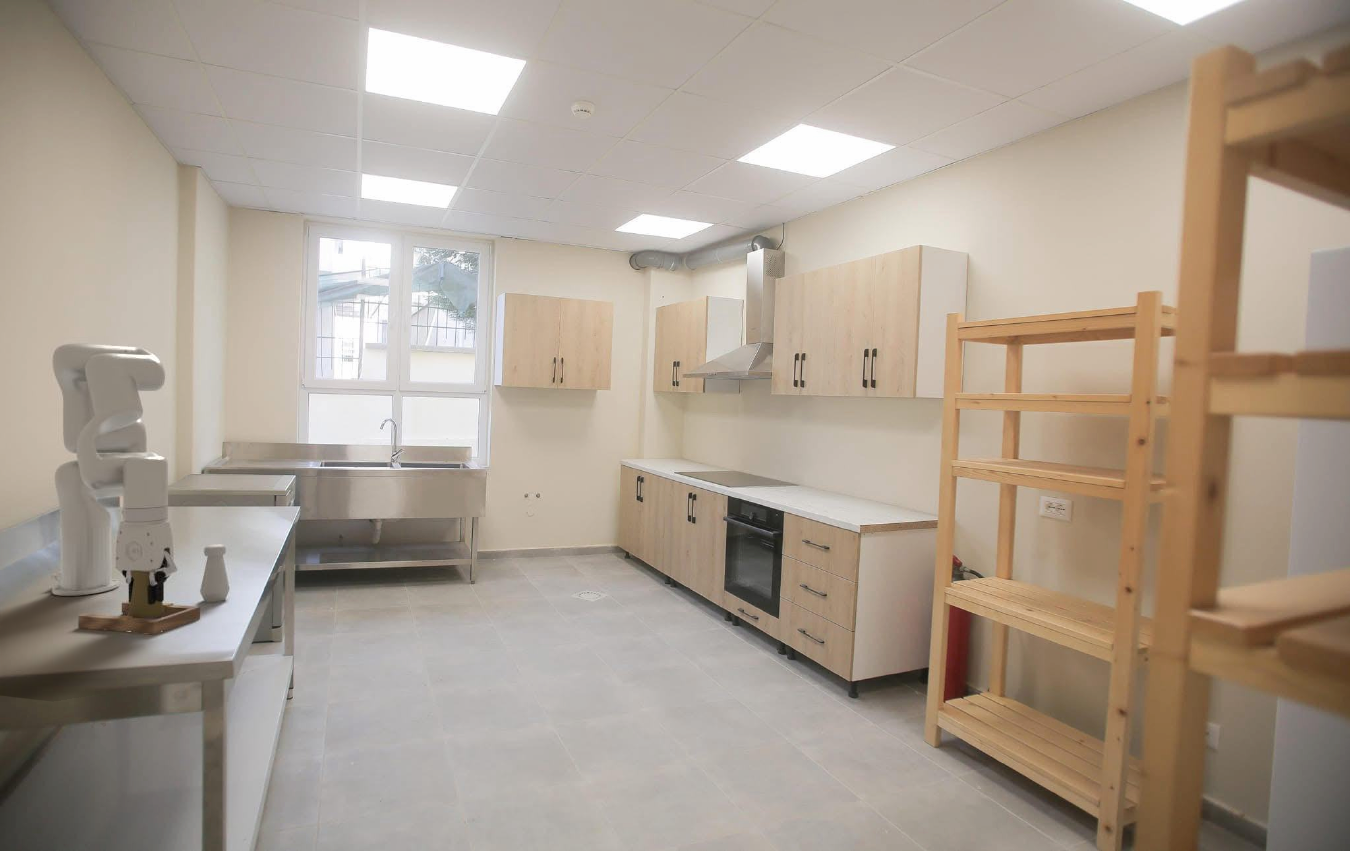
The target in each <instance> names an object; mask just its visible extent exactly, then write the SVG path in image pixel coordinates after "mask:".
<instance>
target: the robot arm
mask: <svg viewBox="0 0 1350 851" xmlns="http://www.w3.org/2000/svg"><path fill="white" fill-rule="evenodd" d="M52 354H53V355H52V369H53V373H54V376H55V379H56V381H57V384H58V386H59V389H60V391H61V394H62V401H63V402H62V403H63V404H62V438H63V444H64V448H65V449H66V451H68V452H69V453H71V454H75V455H76V459H75V460H71V461H67V462H65V463H62V464H60V466H58V467H57V468H56V471H55V472H54V482H55V483H54V484H55V485H54V486H55V488H56V492H57V498H58V506H59V524H60V525H59V527H60V531H59V533H60V538H59V539H60V545H59V546H60V570H57V572H56V573H53V574H52V575H51V576H50V579H51V580H54V581H57V585H55V586H54V587H53V588H51V589H52V590H51V591H52V592H51V593H52V594H53V595H56V596H61V597H62V596H63V597H65V596H66V597H70V596H73V597H75V596H83V595H84V596H86V595H92V594H99V593H103V592H104V593H105V592H108V591H111V590H114V589H116V588H118V587H119V586H120V580H119V579H117V578H112V517H111V514H110V511H108V509H106V507H105V506H103V505H102V504H101V503H100V502H99V501H98V500H99V499H106V498H117V497H118V498H119V497H122V499H123V500H122V501H123V502H122V511H121V514H122V521H120V523H119V526H118V530H117V536H116V543H115V554H114V556H115V569H117V571H119V572H120V573H121V574H122V576H123V578H125V583H126V584H127V585H128V601H129V603H130V602H131V596H132V589H133V583H134V579H133V578H132V577H131V571H142V572H149V578H150V584H151V585H149V586H148V604H151V605H152V604H155V602H156V600H157V601H158V602H162V603H163V601H164V599H165V598H164V597H165V596H164V594H165V589H164V588H165V587H164V586H165V583H166V582H167V579H168V578H169V577H170V576H171V575H172V574H174V573H175V572H177V571H178V567H177V566H176V564H175V562H174V558H175V557H174V556H175V555H174V554H175V552H174V538H173V531H172V526H171V522H170V521H169V466H168V465H169V464H168V460H167V459H166V457H164V456H161V455H159V454H157V453H155V452H147V447H148V444H147V430H146V427H145V424H144V422H143V421H142V419H141V418H142V417H143V414H144V408H143V405H142V404H143V403H142V401H141V398H140V397H141V396H140V393H139V392H156V391H159V390H160V389H162V388H163V386H164V384H165V381H166V373H165V372H166V371H165V368H164V366H163V363H162V361H161V360H160V359H159V357H157V356H156V355H155V354H153V353H152V352H150V351H148V350H146V349H145V348H142V347H138V346H129V345H128V346H127V345H115V344H114V345H113V344H111V345H109V344H100V343H66V344H62V345H60V346H58V347H57V348H56V349H55V350H54V351H53V353H52ZM159 571H160V573H159V574H158V576H156V572H159Z"/></svg>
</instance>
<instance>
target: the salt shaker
mask: <svg viewBox="0 0 1350 851" xmlns="http://www.w3.org/2000/svg"><path fill="white" fill-rule="evenodd" d="M226 552H227V548H226V546H225V545H224V544H220V543H217V544H216V543H215V544H210V545H206V546H205V547H204V548H203V554H204V556H206V557H207V559H206V563H205V568H204V571H203V576H202V582H201V585H200V590H199V592H200V593H199V594H200V595H201V597H202V599H203V601H204V602H205V603H211V602H212V603H218V602H222V600H223V601H224V600H227V597H228V595H229V592H230V589H231V588H230V585H229V584H230V583H229V579H228V575H227V574H228V573H227V570H226V565H225V564H226V563H225V558H224V555H226Z"/></svg>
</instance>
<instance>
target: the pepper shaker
mask: <svg viewBox="0 0 1350 851" xmlns="http://www.w3.org/2000/svg"><path fill="white" fill-rule="evenodd" d="M159 573H160V571H159V572H156V576H158V574H159ZM131 577H132V578H133V579H134V583H133V589H132V596H131V602H130V609H129V615H127V616H133V618H142V619H150V618H156V617H155V616H158V615H161V614H163V613H164V609H163V603H164V602H163V601H162V602H158V601H157V600H156V602H155V604H152V605H151V604H148V586H149V585H151V584H150V578H149V572H142V571H131Z"/></svg>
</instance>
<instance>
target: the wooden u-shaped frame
mask: <svg viewBox="0 0 1350 851" xmlns="http://www.w3.org/2000/svg"><path fill="white" fill-rule="evenodd" d="M162 603H163V609H164V613H163V614H161V615H158V616H157V617H156V618H157V619H152V618H151V619H150V618H133V616H128V615H125V614H129V609H130V603H129V600H127V601H124V602H121V614H122V613H123V614H122V616H118V615H107V614H106V615H105V614H95V613H94V614H93V613H82V614H79V615H78V616H77V623H78V625H77V626H78V627H79V628H78V627H77V628H78V629H86V628H88V629H89V630H97V629H106V630H105V631H108V630H115V631H114V632H119V631H131V632H137V633H136V634H140V633H149V634H148V635H151V634H155V635H158V634H160V632H161V631H164V632H166V631H165V630H167V631H169V630H172V629H174V628H173V627H175V628H177V626H178V627H180V626H183V625H185V623H186V624H189V623H191V622H190V621H192V622H194V621H197V620H199V619H201V606H193V605H192V606H191V605H179V604H174V603H171V602H162ZM159 617H163V618H159ZM196 619H197V620H196ZM188 622H189V623H188ZM182 624H183V625H182ZM179 625H180V626H179ZM171 628H172V629H171ZM168 629H169V630H168ZM157 633H158V634H157ZM161 633H162V632H161Z"/></svg>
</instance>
